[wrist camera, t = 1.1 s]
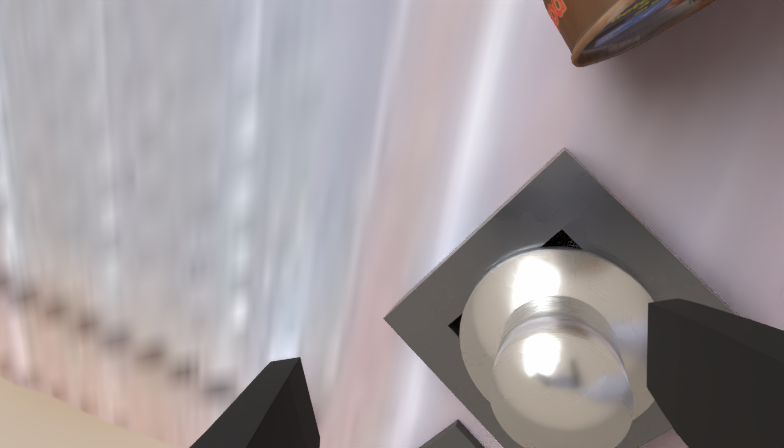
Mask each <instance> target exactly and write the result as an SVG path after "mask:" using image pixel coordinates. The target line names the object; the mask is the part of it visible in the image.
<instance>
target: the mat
mask: <svg viewBox="0 0 784 448" xmlns="http://www.w3.org/2000/svg"><path fill="white" fill-rule="evenodd" d="M420 448H484V447H483V446H482V445H481V444H480V443H479V442H478V441H477V440H476V439H475V438H474V436H473V435H472V434H471V433H470V432H469V431H468V430H467V429H466V428H465V427H464V426H463V425H462V424H461V422H460V421H459V420H457V421H455V422H454V423H453V424H451V425H450V426H448V427H447V428H446V429H444V430H443V431H442V432H440V433H439V434H437V435H436V436H435V437H433V438H432V439H431V440H429V441H428V442H426V443H425V444H424V445H422V446H421V447H420Z"/></svg>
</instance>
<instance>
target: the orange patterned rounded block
mask: <svg viewBox="0 0 784 448" xmlns="http://www.w3.org/2000/svg"><path fill="white" fill-rule="evenodd" d="M543 1H544V4H545V7H546V9H547V11H548V13H549V15H550V17H551V19H552V20H553V22H554V24H555V25H556V27H557V28H558V30H559V32H560V33H561V35H562V37H563V38H564V40H565V42H566V44H567V46H568V47H569V49H570V51H571V53H572V56H571V60H572V63H573V64H574V65H575V66H576V67H584V66H588V65H591V64H595V63H598V62H601V61H603V60H606V59H609V58H611V57H614V56H616V55H619V54H621V53H623V52H625V51H627V50H629V49H631V48H633V47H635V46H637V45H639V44H641V43H643V42H644V41H646V40H648V39H650V38H652V37H654V36H655V35H657V34H659V33H661V32H662V31H664V30H665V29H667V28H669V27H671V26H673V25H675V24H676V23H678V22H680V21H681V20H683V19H685V18H687V17H688V16H690V15H692V14H693V13H695V12H697V11H698V10H700V9H702V8H703V7H705V6H707V5H708V4H710V3H712V2H713V1H715V0H543Z"/></svg>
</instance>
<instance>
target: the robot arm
mask: <svg viewBox="0 0 784 448" xmlns="http://www.w3.org/2000/svg"><path fill="white" fill-rule="evenodd" d="M646 387H647V389H648V390H649V392H650V393H651V395H652V397H653V398H654V400H655V401H656V403H657V404H658V406H659V408H660V409H661V411H662V412H663V414H664V415H665V417H666V418H667V420H668V421H669V422H670V424H671V425H672V427H673V428H674V430H675V431H676V433H677V434H678V435H679V436H680V437H681V439H682V440H683V441H684V442H685V444H686V445H687V446H688V447H689V448H784V331H783V330H780V329H777V328H774V327H771V326H768V325H765V324H762V323H759V322H756V321H753V320H750V319H746V318H743V317H740V316H737V315H734V314H731V313H728V312H725V311H722V310H719V309H716V308H713V307H709V306H706V305H703V304H699V303H696V302H692V301H688V300H684V299H679V298H676V299H669V300H663V301H657V302H650V303H648V332H647V384H646ZM319 447H320V436H319V432H318V428H317V423H316V419H315V415H314V411H313V407H312V403H311V399H310V395H309V391H308V387H307V383H306V379H305V375H304V371H303V367H302V363H301V359H300V357H298V358H292V359H285V360H279V361H273V362H270V363H269V364H268V365H267V366H266V367H265V368H264V369H263V370H262V371H261V372H260V373H259V375H258V376H257V377H256V378H255V379H254V380H253V381H252V382H251V383H250V384H249V385H248V387H247V388H246V389H245V390H244V391H243V392H242V393H241V394H240V395H239V396H238V398H237V399H236V400H235V401H234V402H233V403H232V404H231V405H230V406H229V407H228V408H227V409H226V411H225V412H224V413H223V414H222V415H221V416H220V417H219V418H218V419H217V420H216V421H215V422H214V423H213V424H212V426H211V427H210V428H209V429H208V430H207V431H206V432H205V433H204V434H203V435H202V436H201V437H200V438H199V439H198V440H197V441H196V442H195V443H194V444H193V445H192V446H191V447H190V448H319Z"/></svg>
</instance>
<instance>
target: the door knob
mask: <svg viewBox="0 0 784 448" xmlns="http://www.w3.org/2000/svg"><path fill="white" fill-rule="evenodd" d="M650 302H654V300H653V299H652V297H651V296H650V294H649V293H648V291H647V290H646V288H645V287H644V286H643V285H642V284H641V283H640V282H639V281H638V279H637V278H635V277H634V276H633V275H632V274H631V273H630V272H628V271H627V270H626V269H625V268H623V267H622V266H620V265H619V264H617V263H616V262H614V261H612V260H610V259H608V258H606V257H604V256H602V255H599V254H596V253H593V252H591V251H587V250H583V249H579V248H574V247H564V246H546V247H539V248H533V249H529V250H525V251H521V252H519V253H516V254H514V255H511V256H509V257H508V258H506V259H504V260H502V261H500V262H499V263H498V264H496V265H495V266H494V267H492V268H491V269H490V270H489V271H488V272H487V273H486V274H485V275H484V276H483V277H482V278H481V279H480V281H479V282H478V283H477V285H476V286H475V288H474V290H473V291H472V293H471V295H470V297H469V299H468V301H467V303H466V306H465V308H464V311H463V314H462V318H461V323H460V335H459V337H460V348H461V353H462V358H463V361H464V363H465V366H466V369H467V371H468V373H469V375H470V377H471V379H472V381H473V382H474V384H475V385H476V387H477V388H478V390H479V391H480V392H481V393H482V395H483V396H484V397H485V398H486V399H487V400H488V401H489V402H490V403H491V407H492V410H493V413H494V415H495V417H496V419H497V421H498V422H499V424H500V425H501V427H502V428H503V429H504V431H505V432H506V433H507V434H508V435H509V436H510V437H511V438H512V439H513V440H514V441H515V442H517V443H518V444H519V445H521V446H522V447H524V448H615V447H616V446H617V445H618V444H619V443H620V442H621V441H622V440H623V439H624V437H625V436H626V435H627V433H628V431H629V429H630V427H631V424H632V421H633V420H634V419H635V418H637V417H638V416H640V415H641V414H642V413H643V412H644V411H645V410H646V409H647V408H648V407H649V406H650V405H651V404H652V403H653V402H654V398H653V397H652V395H651V393H650V392H649V390H648V389H647V387H646V384H647V332H648V303H650Z"/></svg>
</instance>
